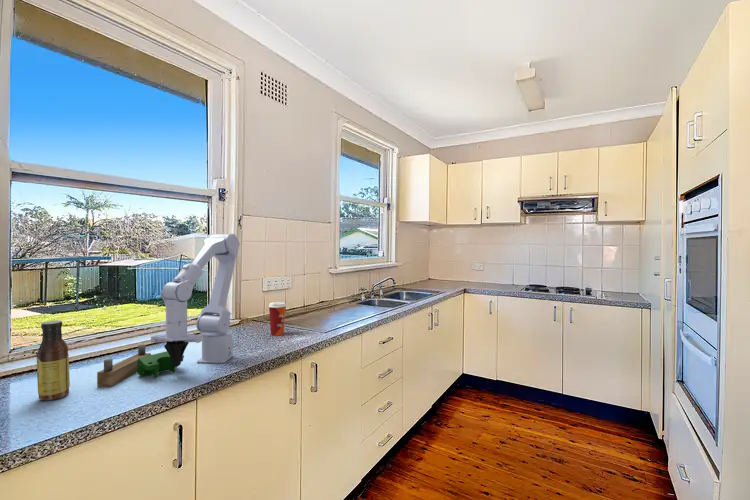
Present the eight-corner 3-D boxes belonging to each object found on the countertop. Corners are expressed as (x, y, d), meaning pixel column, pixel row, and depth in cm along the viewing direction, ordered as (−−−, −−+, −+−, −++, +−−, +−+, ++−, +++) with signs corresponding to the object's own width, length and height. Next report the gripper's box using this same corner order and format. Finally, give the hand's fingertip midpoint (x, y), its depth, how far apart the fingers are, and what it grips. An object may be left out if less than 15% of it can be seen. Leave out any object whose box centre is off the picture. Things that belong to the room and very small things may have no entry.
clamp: (151, 392, 108) (140, 370, 104) (142, 383, 112) (131, 361, 107) (189, 367, 117) (181, 346, 112) (180, 359, 120) (171, 338, 116)
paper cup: (283, 336, 157) (283, 304, 157) (266, 336, 157) (266, 304, 157) (288, 332, 165) (288, 301, 164) (271, 332, 165) (271, 301, 164)
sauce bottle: (51, 392, 97) (50, 318, 97) (75, 391, 98) (75, 318, 98) (30, 403, 91) (29, 324, 91) (56, 402, 91) (55, 324, 91)
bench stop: (150, 365, 120) (150, 344, 119) (111, 386, 102) (111, 361, 101) (138, 365, 120) (138, 344, 119) (97, 386, 102) (97, 361, 101)
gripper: (144, 324, 106) (144, 370, 106) (194, 324, 106) (194, 370, 107) (158, 319, 113) (158, 362, 114) (205, 319, 113) (205, 362, 114)
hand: (176, 365), depth 111 cm, fingers closed
